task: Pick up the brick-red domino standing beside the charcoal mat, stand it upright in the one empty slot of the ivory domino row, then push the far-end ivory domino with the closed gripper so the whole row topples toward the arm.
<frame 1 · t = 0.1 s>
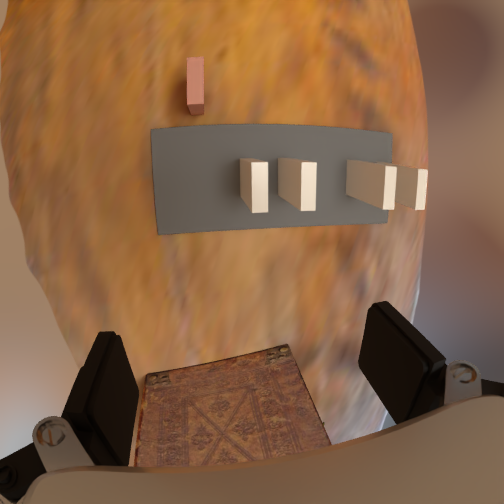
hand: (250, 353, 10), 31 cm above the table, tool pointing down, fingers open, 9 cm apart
domino 2: (351, 177, 40), point 1 cm above the table, touching domino mat
book: (221, 378, 50), on the table
domino 4: (283, 176, 39), point 1 cm above the table, touching domino mat
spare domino: (197, 96, 34), on the table
domino 1: (380, 178, 41), point 1 cm above the table, touching domino mat
domino 5: (246, 177, 38), point 1 cm above the table, touching domino mat
domino mat: (282, 176, 40), on the table
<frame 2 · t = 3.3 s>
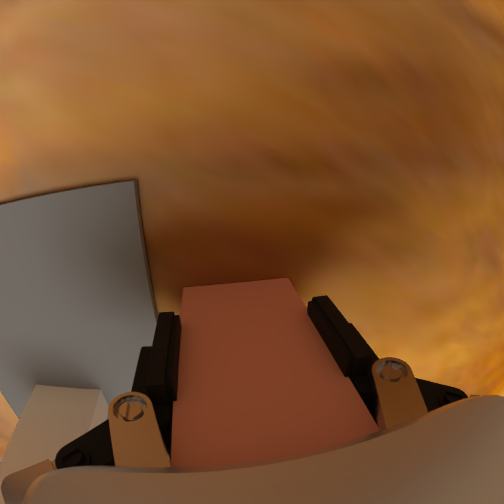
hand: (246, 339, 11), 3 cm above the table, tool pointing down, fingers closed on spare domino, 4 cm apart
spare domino: (237, 297, 15), on the table, touching gripper
domino 5: (71, 396, 15), point 1 cm above the table, touching domino mat
domino mat: (99, 435, 17), on the table
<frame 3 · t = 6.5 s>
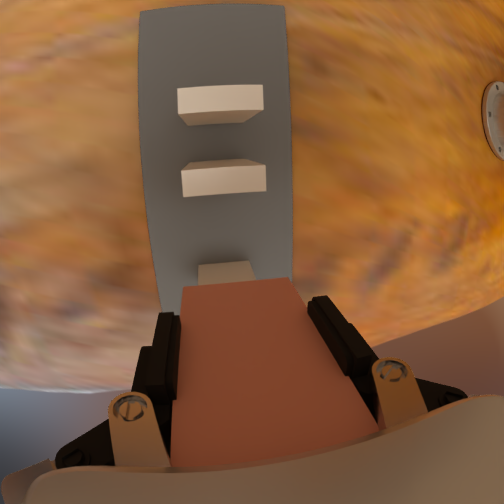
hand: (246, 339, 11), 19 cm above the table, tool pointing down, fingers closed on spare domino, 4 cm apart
domino 2: (224, 270, 30), point 1 cm above the table, touching domino mat
domino 4: (217, 168, 27), point 1 cm above the table, touching domino mat
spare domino: (237, 297, 15), point 16 cm above the table, touching gripper
domino 5: (215, 115, 25), point 1 cm above the table, touching domino mat
domino mat: (217, 168, 27), on the table
when the fingers open (5 cm above the table, at t = 10.1 s): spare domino stays where it is, resting on domino mat.
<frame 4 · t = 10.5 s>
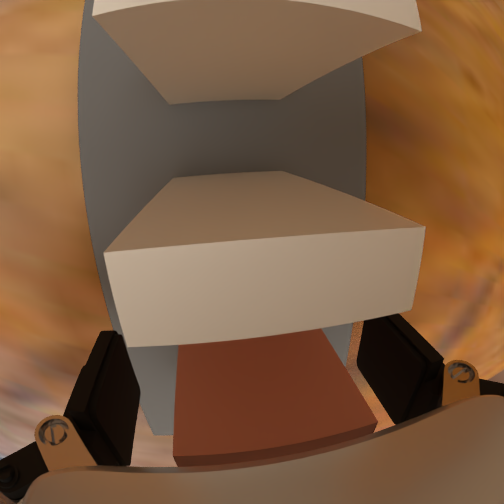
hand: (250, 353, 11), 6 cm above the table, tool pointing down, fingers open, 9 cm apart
domino 4: (229, 190, 14), point 1 cm above the table, touching domino mat
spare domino: (236, 287, 15), point 1 cm above the table, touching domino mat
domino 5: (224, 84, 12), point 1 cm above the table, touching domino mat
domino mat: (228, 188, 14), on the table
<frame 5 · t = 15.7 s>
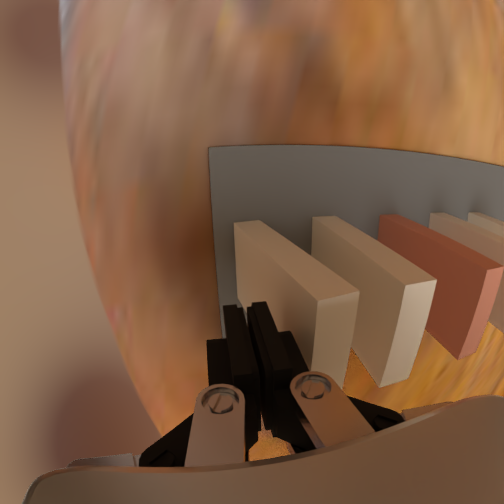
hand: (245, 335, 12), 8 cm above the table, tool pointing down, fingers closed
domino 2: (322, 253, 20), point 1 cm above the table, touching domino mat
domino 4: (433, 242, 21), point 1 cm above the table, touching domino mat
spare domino: (385, 248, 20), point 1 cm above the table, touching domino mat
domino 1: (248, 260, 19), point 1 cm above the table, tilted 9°, touching domino mat, gripper
domino 5: (469, 239, 22), point 1 cm above the table, touching domino mat
domino mat: (428, 240, 22), on the table
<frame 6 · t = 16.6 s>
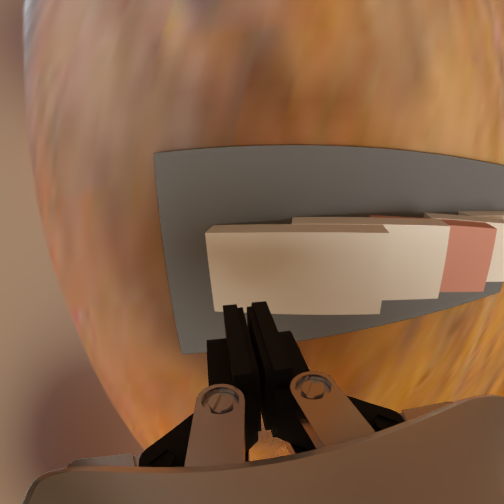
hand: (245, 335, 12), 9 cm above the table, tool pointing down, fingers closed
domino 2: (292, 259, 19), point 1 cm above the table, tilted 72°, touching domino 1, domino mat, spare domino
domino 4: (423, 247, 20), point 1 cm above the table, tilted 70°, touching domino 5, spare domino
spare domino: (369, 253, 20), point 1 cm above the table, tilted 70°, touching domino 2, domino 4, domino mat
domino 1: (213, 268, 18), point 1 cm above the table, tilted 72°, touching domino 2
domino 5: (460, 242, 21), point 1 cm above the table, tilted 90°, touching domino 4, domino mat
domino mat: (399, 242, 21), on the table
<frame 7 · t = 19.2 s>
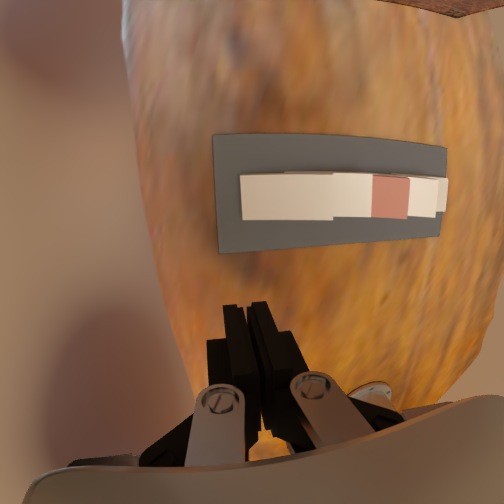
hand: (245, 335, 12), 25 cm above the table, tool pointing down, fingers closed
domino 2: (285, 193, 34), point 1 cm above the table, tilted 72°, touching domino 1, domino mat, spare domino
domino 4: (365, 192, 36), point 1 cm above the table, tilted 70°, touching domino 5, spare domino
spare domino: (329, 193, 35), point 1 cm above the table, tilted 70°, touching domino 2, domino 4, domino mat
domino 1: (242, 196, 34), point 1 cm above the table, tilted 72°, touching domino 2
domino 5: (393, 192, 36), point 1 cm above the table, tilted 90°, touching domino 4, domino mat
domino mat: (350, 190, 37), on the table
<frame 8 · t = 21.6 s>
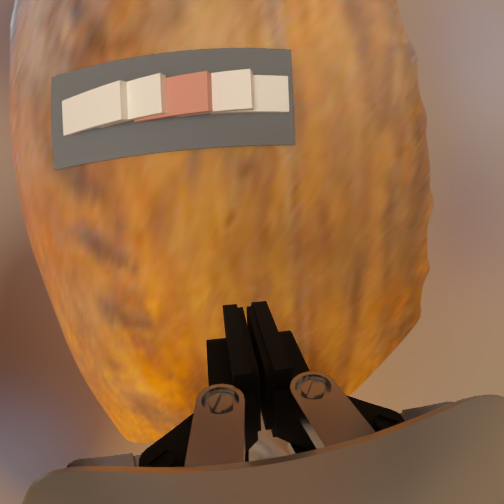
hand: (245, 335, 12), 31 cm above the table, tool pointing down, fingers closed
domino 2: (97, 109, 32), point 1 cm above the table, tilted 72°, touching domino 1, domino mat, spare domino
domino 4: (174, 98, 34), point 1 cm above the table, tilted 70°, touching domino 5, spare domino
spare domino: (136, 103, 33), point 1 cm above the table, tilted 70°, touching domino 2, domino 4, domino mat
domino 1: (66, 118, 32), point 1 cm above the table, tilted 72°, touching domino 2
domino 5: (210, 95, 34), point 1 cm above the table, tilted 90°, touching domino 4, domino mat
domino mat: (165, 101, 35), on the table
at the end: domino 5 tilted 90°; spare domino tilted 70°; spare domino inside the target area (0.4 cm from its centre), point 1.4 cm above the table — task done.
